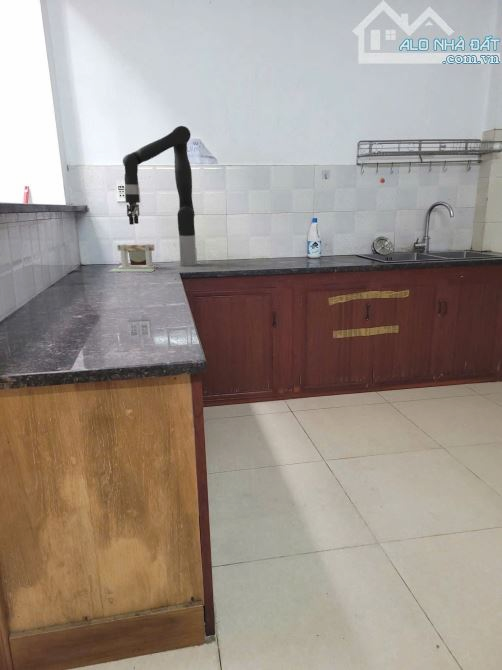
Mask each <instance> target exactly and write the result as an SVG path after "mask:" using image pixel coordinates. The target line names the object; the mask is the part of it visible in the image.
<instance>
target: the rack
mask: <svg viewBox="0 0 502 670" xmlns="http://www.w3.org/2000/svg"><path fill="white" fill-rule="evenodd" d="M119 245H120V250H121V251H120V261H121V265H120V266H118V267H117V269H156V268H157V264H153V256H152V254H153V253H152V252H153V251H149V245H152V244H149V243H148V244H144V245H145V254H146V265H131V264H129V252H128V251H125V249H124V245H125V244H119Z"/></svg>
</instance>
